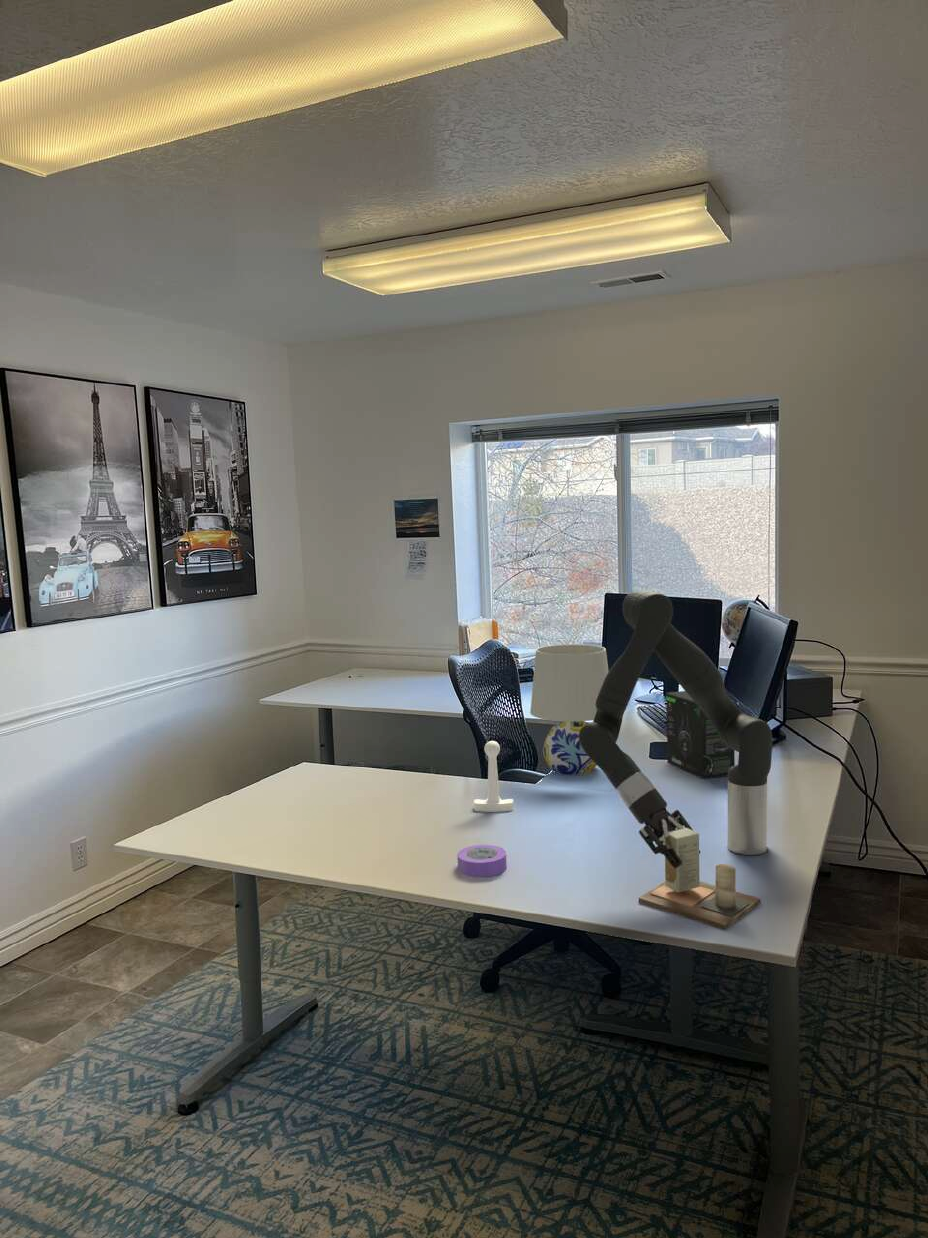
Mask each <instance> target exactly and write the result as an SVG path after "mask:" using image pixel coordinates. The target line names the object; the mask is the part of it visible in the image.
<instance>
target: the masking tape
mask: <svg viewBox="0 0 928 1238" xmlns="http://www.w3.org/2000/svg"><path fill="white" fill-rule="evenodd" d="M507 867H508V865H507V851H506V850H505V849H504V848H503V847H501V846H497V845H492V844H475V845H470V846H466V847H464V848H462V849H460V850H459V851H458V853H457V870H458V872H459V873H461V874H462V875H464V876H466V877H471V878H490V877H491V878H492V877H495V876H499V875H501V874H503V873H505V872H506V870H507Z"/></svg>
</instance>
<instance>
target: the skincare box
mask: <svg viewBox="0 0 928 1238" xmlns="http://www.w3.org/2000/svg"><path fill="white" fill-rule="evenodd" d="M668 833H669V843H670V846H671V848H670V849H673V850H674V851H675V853H676V854H677V855H678V857H679V858H680V859H681V861H682V864H681V865H680V866H679V867H677V868H674V867H673V866H672V865H671V864H670V862H669V861H668V860H667V858H666V857H665V856H664V867H665V868H664V870H665V871H664V872H665V875H664V877H665V880H664V882H665V885H666V886H667V887H669V888H670V889H672V890H673V891H675V892H682V891H686V890H690V889H693V888H697V887H700V882H701V881H700V854H699V850H700V833H699V832H697V831H695V830H694V829H693V830H691V829H688V828H685V827H683V829H679V830H674V831H670V832H668Z"/></svg>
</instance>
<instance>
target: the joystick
mask: <svg viewBox="0 0 928 1238" xmlns="http://www.w3.org/2000/svg"><path fill="white" fill-rule="evenodd" d="M483 749H484V753H485V754H486V755H487V757H488V758H487V759H488V763H487V764H488V766H487V767H488V768H487V769H488V770H487V797H486V799H478V798H477V799H474V800H473V805H474V806H473V808H474V811H475V812H484V813H485V812H487V813H490V812H492V813H494V812H495V813H496V812H497V813H498V812H499V813H500V812H509V811H514V799H513V798H506V799H502V798H501V796H500V788H499V787H500V786H499V785H500V784H499V775H498V774H499V773H498V763H497V761H498V760H497V756H498V755H499V754H500V751H501V747H500V744H499V743H498V742H497V741H495V740H490V741H488V742H486V743H485V745H484V748H483Z"/></svg>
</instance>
